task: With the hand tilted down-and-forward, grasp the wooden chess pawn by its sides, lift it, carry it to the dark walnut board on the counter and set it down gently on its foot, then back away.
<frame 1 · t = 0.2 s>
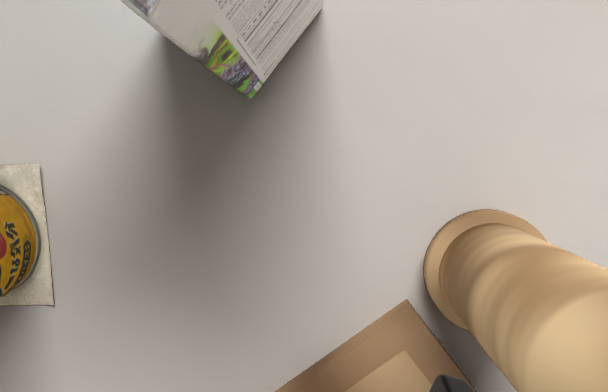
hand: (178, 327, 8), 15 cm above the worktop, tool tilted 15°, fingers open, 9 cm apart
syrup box: (244, 14, 22), on the worktop
wooden chess pawn: (483, 268, 23), on the worktop
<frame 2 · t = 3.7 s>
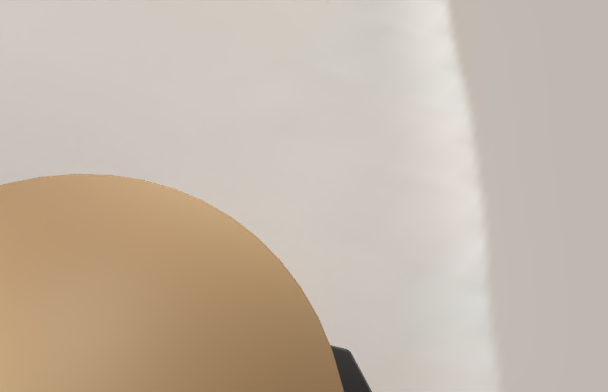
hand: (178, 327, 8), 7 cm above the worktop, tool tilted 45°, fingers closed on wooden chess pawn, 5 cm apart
when the fingers open (9 cm above the worktop, at t = 7.4 s): wooden chess pawn stays where it is, resting on walnut board.
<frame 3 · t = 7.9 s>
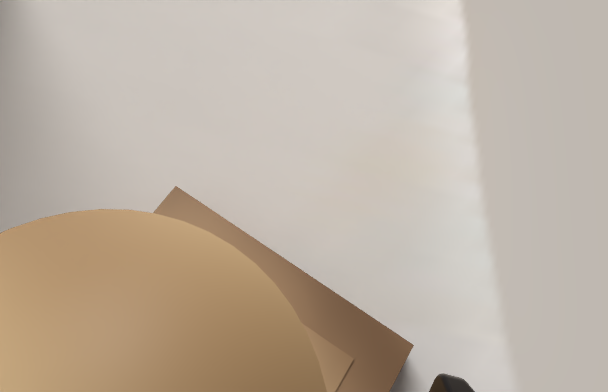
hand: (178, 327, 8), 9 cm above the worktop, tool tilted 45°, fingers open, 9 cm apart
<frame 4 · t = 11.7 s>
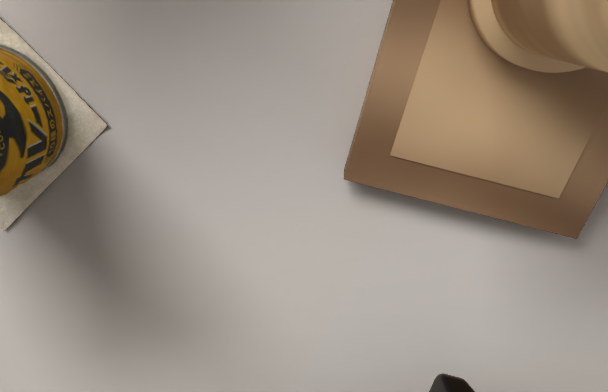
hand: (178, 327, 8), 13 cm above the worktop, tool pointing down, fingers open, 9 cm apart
walnut board: (520, 33, 17), on the worktop
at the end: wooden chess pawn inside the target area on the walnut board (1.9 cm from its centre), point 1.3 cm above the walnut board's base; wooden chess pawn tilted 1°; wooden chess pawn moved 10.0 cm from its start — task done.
